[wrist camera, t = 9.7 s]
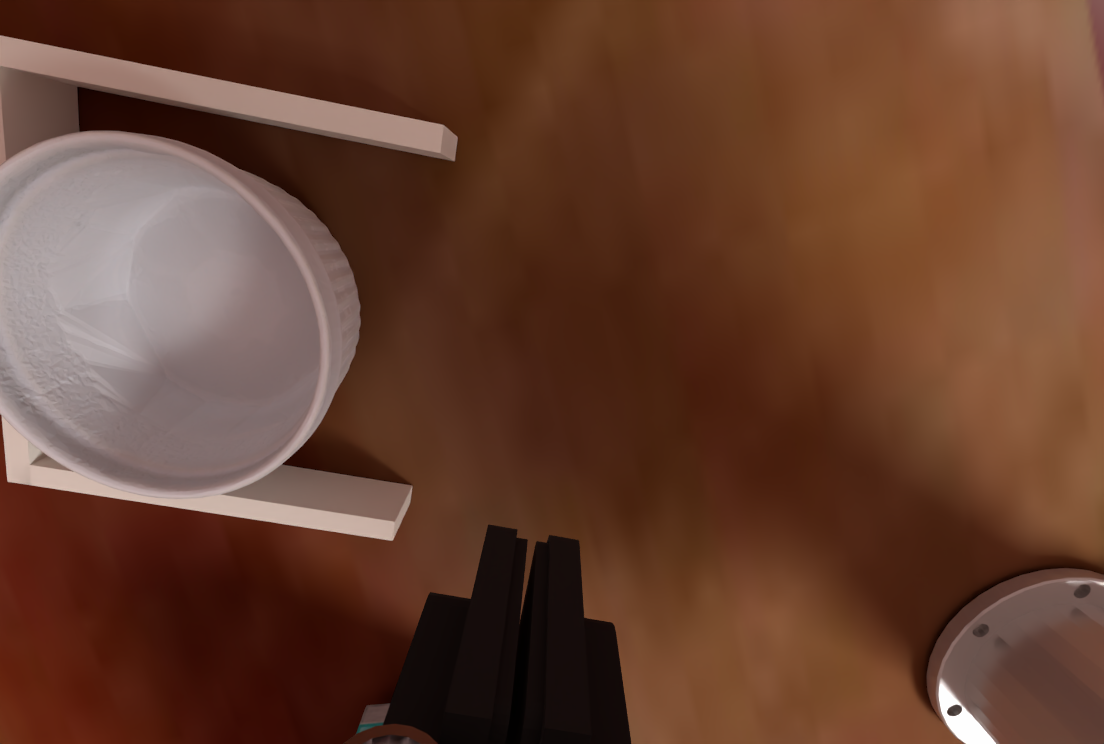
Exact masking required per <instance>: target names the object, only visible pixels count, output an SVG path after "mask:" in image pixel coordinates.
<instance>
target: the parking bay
mask: <svg viewBox="0 0 1104 744" xmlns="http://www.w3.org/2000/svg"><path fill="white" fill-rule="evenodd" d="M77 87H81V88H86V89H91V90H97V91H102V92H107V93H112V94H117V95H122V96H127V97H132V98H137V99H142V100H147V101H152V102H157V103H162V104H167V105H172V106H177V107H182V108H187V109H192V110H198V111H203V112H208V113H213V114H218V115H223V116H228V117H233V118H238V119H243V120H248V121H253V122H258V123H263V124H268V125H273V126H278V127H283V128H288V129H293V130H299V131H304V132H309V133H314V134H319V135H324V136H329V137H334V138H339V139H344V140H349V141H354V142H359V143H364V144H369V145H374V146H379V147H384V148H389V149H394V150H399V151H405V152H410V153H415V154H420V155H425V156H430V157H435V158H440V159H445V160H450V161H455V155H456V148H457V140H458V137H457V136H456V135H455V134H453V133H452V132H451V131H450V130H449V129H448V128H447V127H445V126H444V125H441V124H436V123H432V122H427V121H422V120H417V119H412V118H407V117H402V116H397V115H392V114H387V113H382V112H377V111H372V110H367V109H362V108H357V107H352V106H347V105H342V104H337V103H333V102H328V101H323V100H318V99H313V98H308V97H303V96H298V95H293V94H288V93H283V92H278V91H273V90H268V89H263V88H258V87H253V86H248V85H243V84H238V83H233V82H229V81H224V80H219V79H214V78H209V77H204V76H199V75H194V74H189V73H184V72H179V71H174V70H169V69H164V68H159V67H154V66H149V65H144V64H139V63H134V62H130V61H125V60H120V59H115V58H110V57H105V56H100V55H95V54H90V53H85V52H80V51H75V50H70V49H65V48H60V47H55V46H50V45H45V44H40V43H35V42H30V41H26V40H21V39H16V38H11V37H6V36H1V35H0V165H1V164H2V163H3V162H5V161H6V160H7V159H9V158H10V157H12V156H14V155H15V154H17V153H19V152H20V151H22V150H24V149H26V148H28V147H30V146H32V145H34V144H36V143H39V142H41V141H44V140H48V139H51V138H54V137H58V136H61V135H66V134H70V133H76V132H79V114H78V91H77ZM2 425H3V436H4V447H5V458H6V470H7V481H8V482H14V483H20V484H27V485H33V486H40V487H46V488H53V489H59V490H66V491H72V492H79V493H85V494H92V495H98V496H105V497H111V498H118V499H124V500H131V501H137V502H144V503H150V504H157V505H163V506H170V507H176V508H183V509H189V510H196V511H202V512H209V513H215V514H222V515H228V516H235V517H241V518H248V519H254V520H261V521H267V522H274V523H280V524H287V525H293V526H300V527H306V528H313V529H319V530H326V531H332V532H339V533H345V534H352V535H358V536H365V537H371V538H378V539H384V540H391V541H393V539H394V537H395V535H396V532H397V530H398V528H399V526H400V524H401V522H402V519H403V517H404V515H405V513H406V511H407V509H408V507H409V504H410V501H411V493H412V485H406V484H400V483H393V482H387V481H381V480H375V479H368V478H362V477H356V476H350V475H343V474H337V473H331V472H325V471H318V470H312V469H306V468H300V467H294V466H287V465H280V466H279V467H278V468H276V469H275V470H273V471H272V472H271V473H269V474H268V475H266V476H264V477H263V478H261V479H259V480H257V481H255V482H253V483H251V484H249V485H247V486H244V487H242V488H240V489H237V490H234V491H231V492H228V493H224V494H220V495H215V496H209V497H203V498H189V499H167V498H155V497H148V496H141V495H137V494H133V493H129V492H124V491H121V490H117V489H113V488H111V487H108V486H106V485H102V484H100V483H98V482H95V481H93V480H90V479H88V478H86V477H84V476H82V475H80V474H78V473H76V472H74V471H72V470H70V469H68V468H66V467H64V466H63V465H61V464H60V463H58V462H57V461H55V460H54V459H52V458H50V457H49V456H47V455H46V454H45V453H43V452H42V451H40V450H39V449H38V448H36V447H35V446H34V445H32V444H31V443H30V442H29V441H28V440H27V439H25V438H24V437H23V436H22V435H21V434H20V433H19V432H17V431H16V430H15V429H14V428H13V427H12V426H11V425H10V424H9V423H8V422H7V421H6V420H5V418H4V417H3V416H2Z"/></svg>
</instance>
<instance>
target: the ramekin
mask: <svg viewBox="0 0 1104 744" xmlns="http://www.w3.org/2000/svg"><path fill="white" fill-rule="evenodd" d="M359 312H360V302H359V299H358V290H357V286H356V284H355V280H354V275H353V272H352V270H351V268H350V266H349V263H348V260H347V257H346V256H345V254H344V253H343V252H342V250H341V248H340V246H339V243H338V242H337V241H336V239H335V238H333V236H332V235H331V234H330V232H329V230H328V228H327V227H326V225H324V224H323V223H322V222H321V221H320V220H319V219H318V218H317V216H316V215H315V214H314V213H313V212H312V211H311V210H309V209H307V208H306V207H305V206H304V205H303V204H302V203H301V202H300V201H299V200H298V199H297V198H295V197H293V196H291V195H289V194H288V193H287V192H285V191H284V190H283V189H281V188H280V187H278V186H276V185H273V184H271V183H269V182H267V181H266V180H264V179H262V178H260V177H258V176H256V175H253V174H251V173H249V172H246V171H244V170H241V169H238V168H236V167H235V166H233V165H232V164H230V163H228V162H226V161H225V160H223V159H221V158H219V157H217V156H215V155H213V154H211V153H209V152H207V151H205V150H202V149H200V148H197V147H194V146H192V145H189V144H186V143H183V142H180V141H176V140H172V139H168V138H164V137H159V136H153V135H146V134H138V133H131V132H122V131H85V132H76V133H70V134H66V135H61V136H58V137H54V138H51V139H48V140H44V141H41V142H39V143H36V144H34V145H32V146H30V147H28V148H26V149H24V150H22V151H20V152H19V153H17V154H15V155H14V156H12V157H10V158H9V159H7V160H6V161H5V162H3V163H2V164H1V165H0V414H1V415H2V416H3V417H4V418H5V420H6V421H7V422H8V423H9V424H10V425H11V426H12V427H13V428H14V429H15V430H16V431H17V432H19V433H20V434H21V435H22V436H23V437H24V438H25V439H27V440H28V441H29V442H30V443H31V444H32V445H34V446H35V447H36V448H38V449H39V450H40V451H42V452H43V453H45V454H46V455H47V456H49V457H50V458H52V459H54V460H55V461H57V462H58V463H60V464H61V465H63V466H64V467H66V468H68V469H70V470H72V471H74V472H76V473H78V474H80V475H82V476H84V477H86V478H88V479H90V480H93V481H95V482H98V483H100V484H102V485H106V486H108V487H111V488H113V489H117V490H121V491H124V492H129V493H133V494H137V495H141V496H148V497H155V498H167V499H189V498H203V497H209V496H215V495H220V494H224V493H228V492H231V491H234V490H237V489H240V488H242V487H244V486H247V485H249V484H251V483H253V482H255V481H257V480H259V479H261V478H263V477H264V476H266V475H268V474H269V473H271V472H272V471H273V470H275V469H276V468H278V467H279V466H280V465H281V464H283V463H284V462H285V461H286V460H287V459H288V458H290V457H291V456H292V455H293V454H294V453H295V452H296V451H297V450H298V449H299V448H300V447H301V446H303V444H304V443H305V442H306V441H307V440H308V439H309V438H310V436H311V435H312V434H313V433H314V431H315V430H316V428H317V427H318V426H319V424H320V423H321V421H322V419H323V417H324V416H325V414H326V412H327V410H328V408H329V406H330V404H331V401H332V399H333V397H334V394H335V392H336V390H337V389H338V387H339V385H340V384H341V382H342V380H343V379H344V377H345V375H346V374H347V372H348V370H349V367H350V363H351V361H352V359H353V358H354V355H355V351H356V345H357V343H358V340H359V328H360V325H361V319H360V315H359Z"/></svg>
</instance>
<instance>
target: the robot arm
mask: <svg viewBox="0 0 1104 744" xmlns="http://www.w3.org/2000/svg"><path fill="white" fill-rule="evenodd" d="M516 537H517V529H511V528H505V527H499V526H494V525H488V528H487V532H486V537H485V541H484V545H483V550H482V554H481V558H480V562H479V567H478V571H477V575H476V580H475V584H474V588H473V592H472V597H471V599H467V598H461V597H455V596H449V595H443V594H437V593H431V592H430V594H429V595H428V598H427V600H426V603H425V606H424V609H423V611H422V614H421V617H420V620H419V623H418V626H417V629H416V631H415V634H414V637H413V640H412V643H411V646H410V649H409V651H408V654H407V657H406V660H405V663H404V666H403V668H402V671H401V674H400V677H399V680H398V683H397V686H396V688H395V691H394V694H393V697H392V700H391V703H390V706H389V708H388V711H387V714H386V717H385V720H384V723H383V725H380V726H374V727H372V728H369V729H367V730H364V731H362V732H359V733H357V734H356V735H354V736H353V737H352V738H350V739H349V740H348V741H346V742H345V743H343V744H631V738H630V731H629V724H628V716H627V709H626V702H625V695H624V688H623V681H622V673H621V666H620V659H619V652H618V645H617V637H616V631H615V627H614V625H613V623H611V622H605V621H599V620H593V619H587V618H584V609H583V594H582V578H581V562H580V547H579V540H575V539H569V538H563V537H557V536H552V535H549V537H548V541H547V543H544V542H538V541H537V542H536V545H535V550H534V555H533V560H532V565H531V570H530V575H529V580H528V585H527V590H526V594H525V599H524V604H523V609H522V614H521V619H520V613H521V602H522V592H523V582H524V572H525V562H526V552H527V541H528V540H527V539H521V538H516ZM519 623H520V624H519ZM927 692H928V695H929V698H930V701H931V704H932V707H933V708H934V710H935V712H936V713H937V715H938V716H939V718H940V719H941V720H942V722H943V723H944V724H945V725H946V727H947V728H948V729H949V730H950V731H951V733H952V734H953V735H954V736H955V737H956V738H957V739H959V740H960V741H961V742H963V743H964V744H1104V575H1103V574H1100V573H1096V572H1093V571H1089V570H1083V569H1072V568H1059V569H1046V570H1041V571H1036V572H1032V573H1028V574H1023V575H1020V576H1017V577H1015V578H1012V579H1010V580H1007V581H1005V582H1002V583H999V584H998V585H996V586H994V587H992V588H991V589H989V590H987V591H985V592H984V593H982V594H980V595H979V596H977V597H976V598H975V599H974V600H972V601H971V602H970V603H969V604H967V605H966V606H965V607H963V608H962V609H961V610H960V611H959V612H958V614H957V615H956V616H955V617H954V618H953V619H952V620H951V621H950V622H949V623H948V624H947V626H946V628H945V629H944V631H943V632H942V634H941V635H940V637H939V638H938V640H937V642H936V644H935V647H934V649H933V651H932V654H931V656H930V659H929V664H928V670H927Z"/></svg>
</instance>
